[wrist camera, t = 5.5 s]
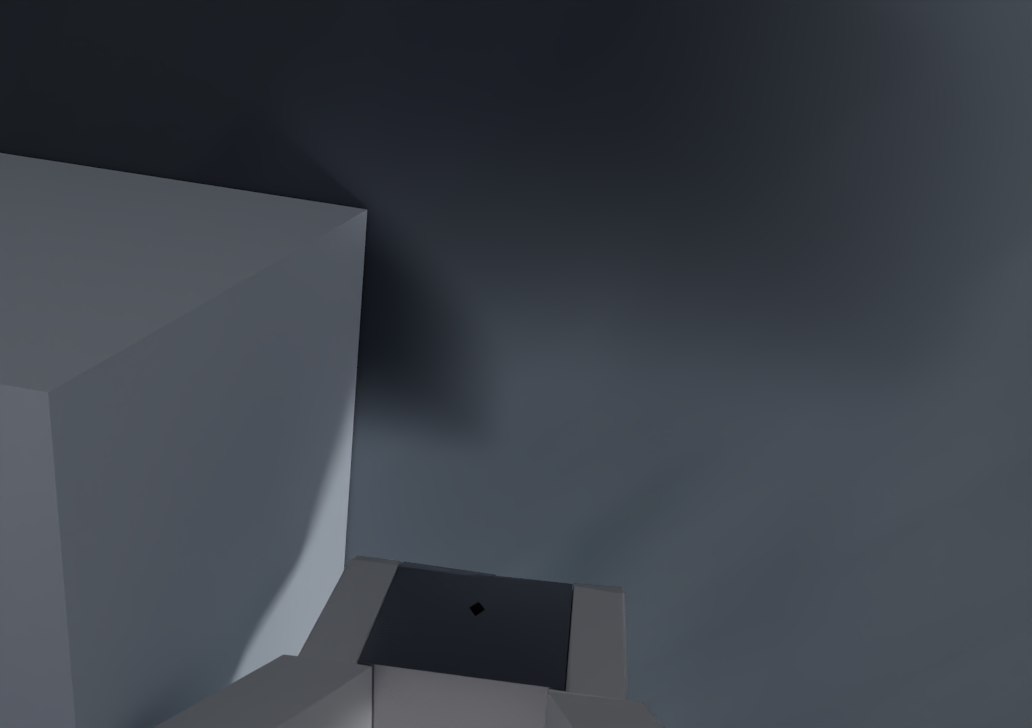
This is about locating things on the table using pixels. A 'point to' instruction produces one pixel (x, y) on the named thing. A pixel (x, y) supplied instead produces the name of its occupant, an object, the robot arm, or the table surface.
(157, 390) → the block
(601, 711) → the robot arm
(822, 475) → the table surface
